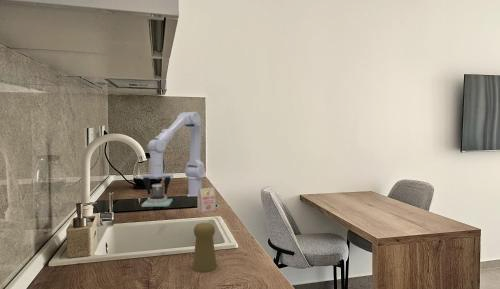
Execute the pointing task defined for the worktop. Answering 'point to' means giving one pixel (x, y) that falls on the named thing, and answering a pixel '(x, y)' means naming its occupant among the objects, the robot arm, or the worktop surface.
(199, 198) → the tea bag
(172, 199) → the plate
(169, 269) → the worktop surface
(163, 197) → the collar mount
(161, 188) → the lens barrel
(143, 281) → the worktop surface
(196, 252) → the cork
